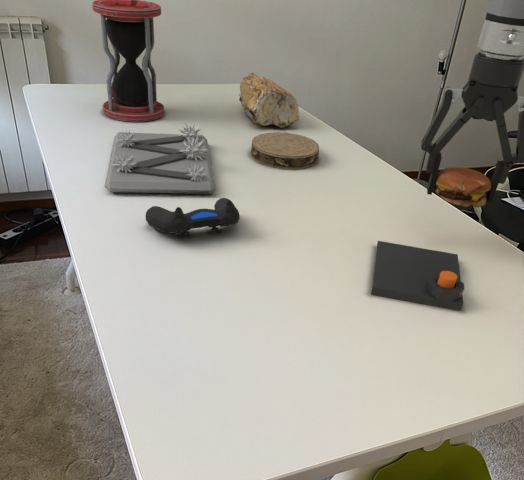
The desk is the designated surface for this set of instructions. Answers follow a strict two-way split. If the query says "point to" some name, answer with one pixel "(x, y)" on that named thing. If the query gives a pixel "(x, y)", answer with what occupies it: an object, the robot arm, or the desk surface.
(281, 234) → the desk surface
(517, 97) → the robot arm
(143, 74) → the hourglass
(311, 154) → the wood log slice
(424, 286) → the scale
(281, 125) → the petrified wood
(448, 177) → the burger
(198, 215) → the gaming controller
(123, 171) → the decorative plate
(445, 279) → the button
